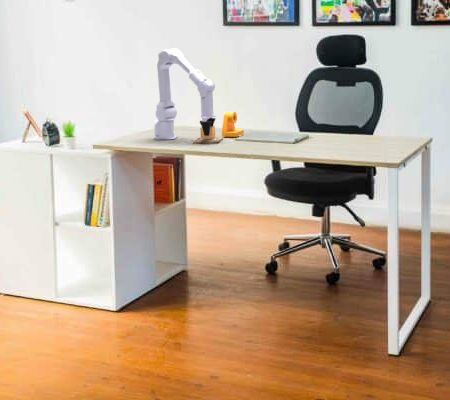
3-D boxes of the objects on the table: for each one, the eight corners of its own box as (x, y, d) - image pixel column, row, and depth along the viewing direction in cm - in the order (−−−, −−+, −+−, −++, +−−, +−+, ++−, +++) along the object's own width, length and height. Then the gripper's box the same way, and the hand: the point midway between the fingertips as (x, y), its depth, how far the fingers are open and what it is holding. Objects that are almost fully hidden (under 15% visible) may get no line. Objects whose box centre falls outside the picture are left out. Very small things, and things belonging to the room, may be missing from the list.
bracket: (235, 138, 457) (234, 113, 454) (222, 137, 460) (221, 113, 457) (244, 134, 466) (243, 110, 463) (231, 134, 469) (230, 110, 466)
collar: (200, 138, 447) (200, 128, 446) (203, 136, 452) (203, 126, 451) (212, 138, 446) (212, 128, 445) (215, 136, 451) (214, 126, 450)
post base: (193, 143, 445) (193, 141, 445) (199, 139, 456) (199, 137, 456) (218, 143, 442) (218, 141, 442) (223, 139, 454) (223, 137, 454)
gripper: (211, 108, 438) (213, 136, 441) (218, 104, 452) (219, 132, 455) (197, 108, 439) (198, 137, 442) (204, 104, 453) (205, 132, 456)
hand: (208, 134), depth 449 cm, fingers closed on collar, 6 cm apart
